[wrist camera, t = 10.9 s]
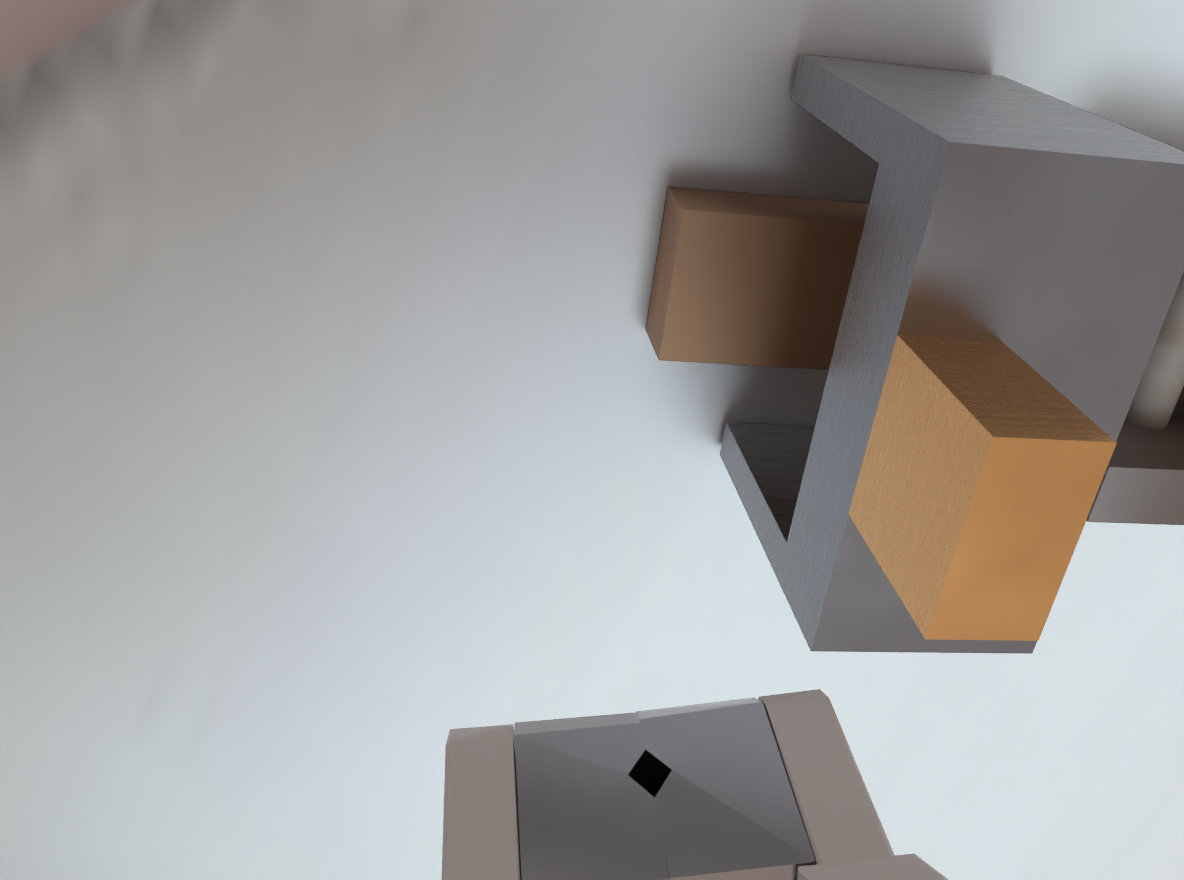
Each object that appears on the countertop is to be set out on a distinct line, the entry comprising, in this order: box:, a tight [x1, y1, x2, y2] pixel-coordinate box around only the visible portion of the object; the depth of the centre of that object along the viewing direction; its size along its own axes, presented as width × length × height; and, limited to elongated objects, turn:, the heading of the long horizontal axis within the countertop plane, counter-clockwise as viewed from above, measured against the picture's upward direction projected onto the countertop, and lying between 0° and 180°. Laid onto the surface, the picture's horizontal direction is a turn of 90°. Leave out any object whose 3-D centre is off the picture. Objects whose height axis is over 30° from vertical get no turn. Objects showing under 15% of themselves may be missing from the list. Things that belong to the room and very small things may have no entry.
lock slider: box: [720, 54, 1184, 653], centre depth 18 cm, size 4×8×10 cm, turn 173°
